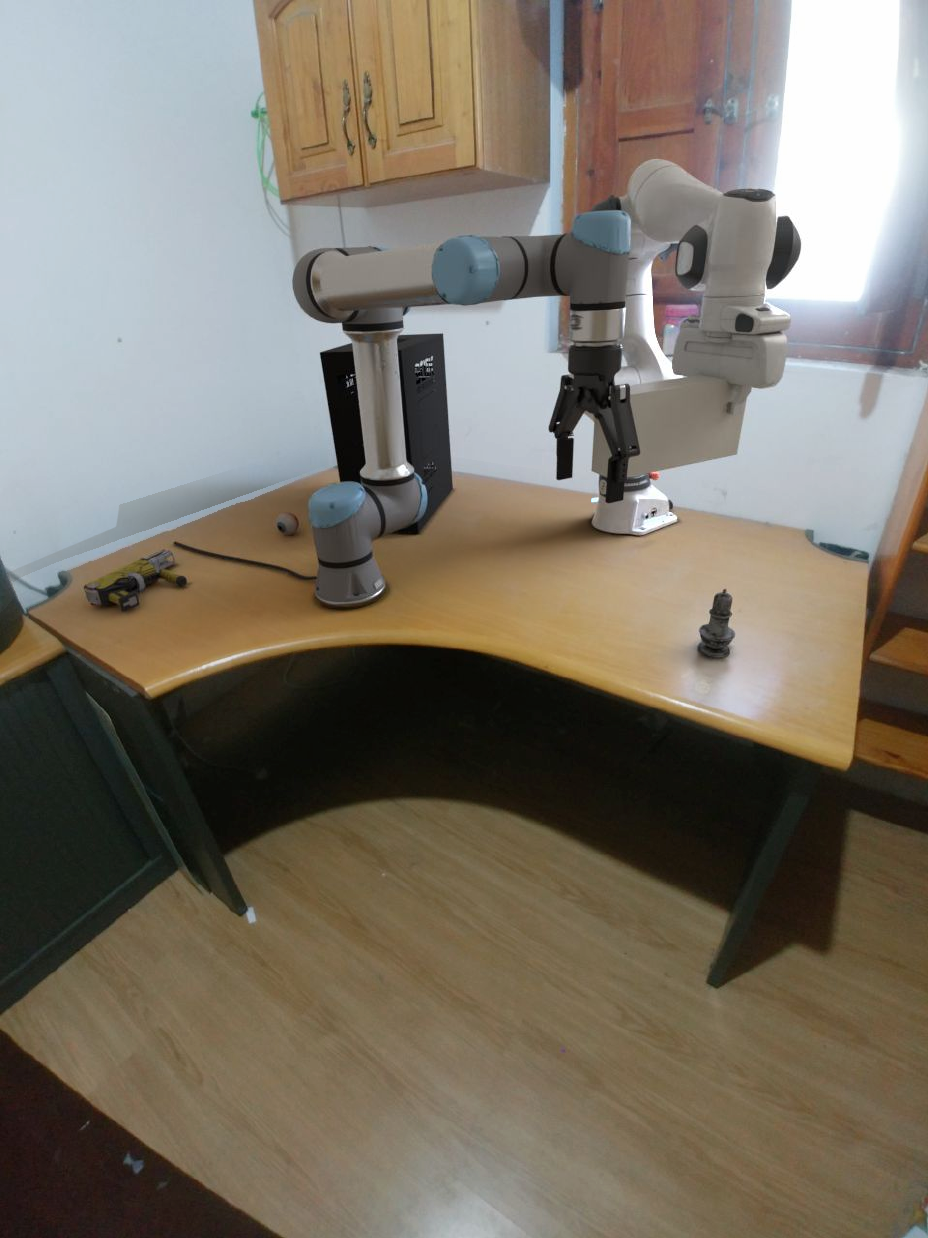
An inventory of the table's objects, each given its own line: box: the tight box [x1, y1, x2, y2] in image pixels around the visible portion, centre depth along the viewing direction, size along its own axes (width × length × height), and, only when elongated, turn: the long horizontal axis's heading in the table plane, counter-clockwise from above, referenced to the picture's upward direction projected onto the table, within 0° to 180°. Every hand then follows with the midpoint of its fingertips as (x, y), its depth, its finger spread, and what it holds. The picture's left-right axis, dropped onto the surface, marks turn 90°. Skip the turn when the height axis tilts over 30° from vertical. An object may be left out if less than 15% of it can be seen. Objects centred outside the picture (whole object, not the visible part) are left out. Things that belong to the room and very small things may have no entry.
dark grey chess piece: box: [697, 588, 736, 659], centre depth 103 cm, size 6×6×12 cm
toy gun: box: [83, 548, 188, 613], centre depth 139 cm, size 5×24×15 cm
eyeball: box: [275, 511, 300, 536], centre depth 163 cm, size 6×6×6 cm
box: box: [590, 375, 748, 478], centre depth 97 cm, size 25×6×12 cm, turn 115°
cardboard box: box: [319, 332, 454, 535], centre depth 167 cm, size 38×20×45 cm, turn 167°
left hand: (587, 489), depth 96 cm, fingers open, 13 cm apart
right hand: (716, 409), depth 100 cm, fingers closed on box, 6 cm apart
